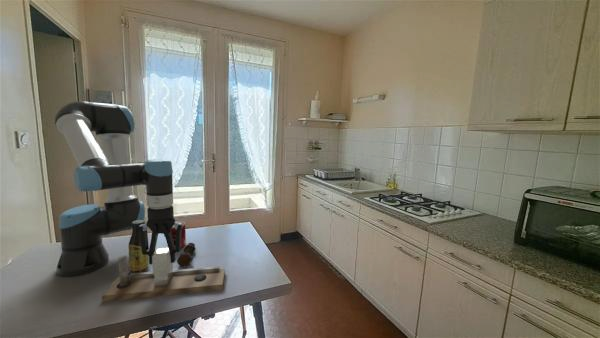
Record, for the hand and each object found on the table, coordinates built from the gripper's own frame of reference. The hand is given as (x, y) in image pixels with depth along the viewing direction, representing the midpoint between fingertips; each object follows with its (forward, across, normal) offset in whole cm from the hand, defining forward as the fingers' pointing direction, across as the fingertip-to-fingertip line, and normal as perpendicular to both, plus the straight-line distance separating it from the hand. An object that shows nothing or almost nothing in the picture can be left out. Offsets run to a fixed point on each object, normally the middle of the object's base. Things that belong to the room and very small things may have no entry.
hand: (163, 271), depth 82 cm
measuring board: (+6, +2, 0) cm, 6 cm away
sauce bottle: (+6, -12, +12) cm, 18 cm away
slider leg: (+3, 0, 0) cm, 3 cm away
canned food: (+6, -4, +32) cm, 33 cm away
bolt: (+6, +4, +20) cm, 22 cm away
